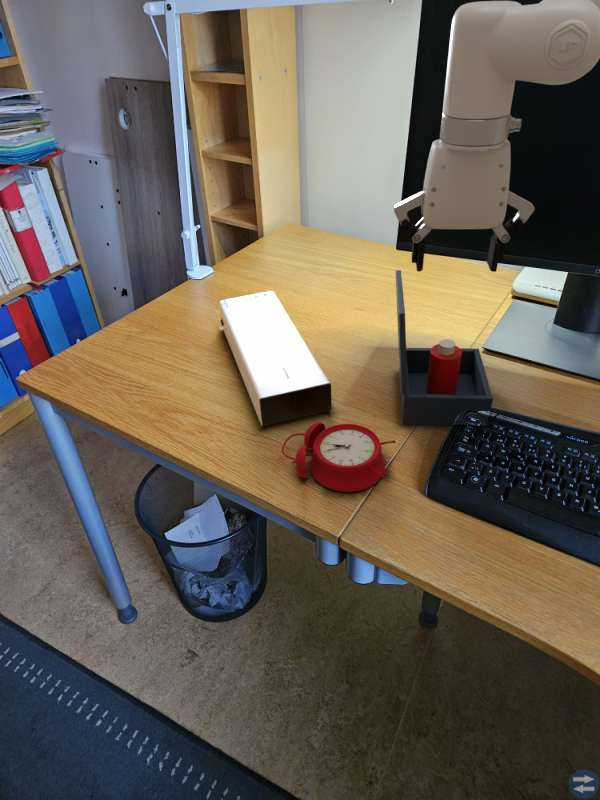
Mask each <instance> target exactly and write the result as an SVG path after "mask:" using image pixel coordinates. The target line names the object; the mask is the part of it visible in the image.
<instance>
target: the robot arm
mask: <svg viewBox="0 0 600 800" xmlns="http://www.w3.org/2000/svg"><path fill="white" fill-rule="evenodd" d="M599 60H600V0H541V1H540V2H539V3H533V4H523V5H522V4H521V3H520V2H517V1H513V0H484V1H482V0H481V1H472V2H467V3H464V4H462V5H460V6H459V7H458V8H457V9H456V10H455V12H454V14H453V16H452V19H451V26H450V36H449V45H448V55H447V65H446V66H447V67H446V74H445V75H446V76H445V83H444V93H443V94H444V95H443V104H442V105H443V106H442V114H441V122H440V123H441V124H440V132H439V139H435V140H433V141H432V144H431V147H430V150H429V154H428V158H427V163H426V169H425V175H424V179H423V188H422V190H421V191H418V192H417V193H414V194H413V195H411V196H409V197H407V198H405V199H403V200H401V201H400V202H397V203H395V204H394V206H393V211H394V212H393V213H394V215H395V216H396V218H397V221H398V223H399V224H400V227H401V229H402V230H403V231H404V232H405V233H406V234H407V236H408V237H409V238H410V239H411V240H412V247H411V264H415V267H416V272H422V271H423V269H424V261H425V251H426V242H425V237H426V236H427V235H428V234H429V233H430V232H431V231H432V230H434V229H435V230H489V229H491V230H492V231H493V234H492V236H491V237H490V242H489V247H488V254H487V259H486V264H487V266H488V269H489V271H491V273H492V272H493V273H496V272H497V270H498V264H502V262H503V258H504V253H505V248H506V244H507V243H509V241H510V239H511V237H513V236H514V235H515V234H516V233H518V232H519V231H520V230H522V229H523V227H524V225H525V223H526V222H527V221H528V220H529V219H530V217H531V216H532V215H533V213H534V211H535V210H536V209H535V206H534V205H533V203H532V202H530V201H529V200H527V199H525V198H524V197H521V196H519V195H517V194H516V193H514V192H513V191H510V180H511V179H510V177H511V162H512V161H511V160H512V159H511V157H512V155H511V153H512V152H511V151H512V150H511V142H510V141H509V140H508V138H509V136H510V134H511V133H514V132H520V131H521V128H522V118H515V117H513V116H512V114H511V108H512V105H513V104H512V102H513V97H514V91H515V85H516V81H521V82H527V83H535V84H541V85H548V86H549V85H551V86H558V85H559V86H561V85H566V84H569V83H572V82H575V81H577V80H579V79H581V78H582V77H584V76H585V75H586V74H588V73H589V72H590V71H592V69H593V68H594V67H595V66H596V65H597V63H598V62H599ZM508 206H510V207H512V208H513V209H516V210H517V212H516V213H515V216H513V217H512V218H510V219H509V220H508V221H507V222H505V224H504V221H505V217H506V212H507V207H508ZM418 207H420V213H421V216H422V217H421V218H420V220H418V222H417V223H416V224H415V223H414V222H413V221H412V220H411V219H410V218H409V216H408V213H410V211H412V210H414V209H416V208H418Z"/></svg>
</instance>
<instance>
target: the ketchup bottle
mask: <svg viewBox="0 0 600 800" xmlns="http://www.w3.org/2000/svg"><path fill="white" fill-rule="evenodd" d="M430 348H431V352H430V361H429V371H428V380H427V390H426V394H436V395H456V390H457V383H458V376H459V369H460V362H461V356H462V351H461V349H460V348H461V347H459V346H457V345H456V342H455V341H454V340H452V339H447V338H446V339H445V338H444V339H441V340H439V341H438V343H437V344H435V345H433V346H432V347H430Z"/></svg>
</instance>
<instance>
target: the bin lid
mask: <svg viewBox="0 0 600 800" xmlns="http://www.w3.org/2000/svg"><path fill="white" fill-rule="evenodd" d="M395 290H396V293H395V294H396V316H397V317H396V319H397V339H398V340H397V342H398V343H397V344H398V345H397V346H398V359H399V367H400V374H401V388H402V394H407V361H406V348H407V334H406V333H407V332H406V309H405V300H404V299H405V297H404V288H403V278H402V271H401V269H397V270H395Z"/></svg>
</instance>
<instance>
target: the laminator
mask: <svg viewBox="0 0 600 800" xmlns="http://www.w3.org/2000/svg"><path fill="white" fill-rule="evenodd" d="M218 307H219V316H220V324H221V325H220V326H218V329H219V331H223V333H224V335H225V338H226V340H227V343H228V345H229V349H230V351H231V353H232V354H233V358H234V361H235V363H236V365H237V368H238V370H239V374H240V376H241V379H242V381H243V383H244V386H245V389H246V391H247V395H248V396H249V399H250V401H251V403H252V407H253V409H254V411H255V414H256V416H257V419H258V422H259V424H260V426H261V428H264V427H266V426H270V425H273V424H279V423H282V422H287V421H291V420H294V419H299V418H303V417H308V416H313V415H317V414H321V413H325V412H331V411H332V408H333V407H332V406H333V405H332V404H333V403H332V384H331V382H330V380H329V379H328V377H327V375H326V374H325V372H324V371H323V369H322V368H321V366H320V364H319V362H317V359H316V357H315V356H314V354H313V352H312V351H311V350H310V348H309V346H308V344H307V343H306V342H305V340H304V338H303V336H302V335H301V333H300V331H299V330H298V328H297V327H296V325H295V324H294V321H293V320H292V319H291V317H290V315H289V313H288V312H287V310H286V308H285V307H284V306H283V304H282V302H281V301H280V299H279V297H278V296H277V294H276V292H275V291H274V290H273V289H271V290H266V291H259V292H255V293H249V294H245V295H239V296H233V297H228V298H222V299H219V300H218Z"/></svg>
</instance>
